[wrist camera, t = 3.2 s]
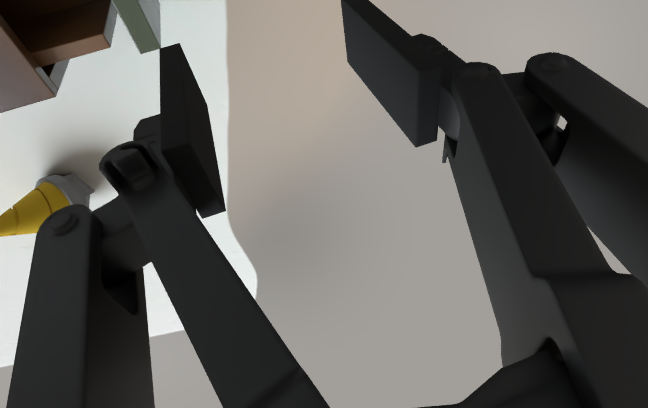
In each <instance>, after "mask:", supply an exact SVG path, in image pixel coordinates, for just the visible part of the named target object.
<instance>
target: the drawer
mask: <svg viewBox="0 0 648 408" xmlns="http://www.w3.org/2000/svg"><path fill="white" fill-rule="evenodd" d="M117 13H119V15H120V17H121V19H122V21H123V22H124V24H125V26H126V28H127V30H128V32H129V34H130V36H131V37H132V39H133V41H134V43H135V45H136V47H137V49H138V50H139V52H140V54H143V53H146V52H150V51H153V50H157V49H160V48H161V39H160V3H159V1H158V0H0V15H1V16H2V17H3V19H4V20H5V21H6V23H7V24H8V25H9V26H10V28H11V29H12V30H13V32H14V33H15V34H16V36H17V37H18V38H19V40H20V41H21V42H22V43H23V45H24V46H25V47H26V49H27V50H28V51H29V53H30V54H31V55H32V57H33V58H34V59H35V60H36V62H37V63H38V64H39V66H40V67H43V66H46V65H50V64H53V63H57V62H60V61H64V60H67V59H71V58H75V57H78V56H82V55H85V54H89V53H92V52H96V51H99V50H103V49H106V48H110V47H111V42H112V37H113V33H114V28H115V23H116V18H117Z"/></svg>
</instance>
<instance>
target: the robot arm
mask: <svg viewBox="0 0 648 408" xmlns="http://www.w3.org/2000/svg"><path fill="white" fill-rule="evenodd" d="M341 6H342V15H343V24H344V33H345V42H346V51H347V61H348V63H349V64H350V66H351V67H352V68H353V69H354V71H355V72H356V73H357V74H358V76H359V77H360V78H361V79H362V81H363V82H364V83H365V85H366V86H367V87H368V88H369V90H370V91H371V92H372V93H373V95H374V96H375V97H376V98H377V99H378V101H379V102H380V103H381V105H382V106H383V107H384V108H385V110H386V111H387V112H388V113H389V115H390V116H391V117H392V118H393V120H394V121H395V122H396V123H397V125H398V126H399V127H400V128H401V130H402V131H403V132H404V133H405V135H406V136H407V137H408V138H409V140H410V141H411V142H412V143H413V145H414V146H415V147H419V146H422V145H425V144H428V143H431V142H433V141H436V140H437V133H438V126H439V127H440V128H441V129H442V130H443V131H444V132H445V141H444V150H443V160H442V162H443V163H445V162H446V158H447V157H448V159H449V162H450V165H451V169H452V172H453V176H454V179H455V183H456V186H457V189H458V193H459V196H460V200H461V203H462V206H463V209H464V213H465V216H466V220H467V223H468V226H469V230H470V233H471V236H472V240H473V243H474V246H475V250H476V253H477V257H478V260H479V263H480V267H481V270H482V273H483V277H484V280H485V283H486V287H487V290H488V294H489V297H490V301H491V304H492V307H493V311H494V314H495V317H496V321H497V324H498V327H499V331H500V336H501V357H502V364H503V368H501V369H500V370H499V371H498V372H497V373H495V374H494V375H493V376H492V377H491V378H489V379H488V380H487V381H486V382H485V383H484V384H482V385H481V386H480V387H479V388H478V389H477V390H475V391H474V392H473V393H472V394H471V395H469V397H467V398H466V399H465V400H464V401H462V402H460V403H458V404H453V405H442V406H431V407H419V408H648V108H647V107H645V106H644V105H642V104H641V103H639V102H638V101H636V100H635V99H633V98H632V97H631V96H629V95H627V94H626V93H625V92H623V91H621V90H620V89H618V88H617V87H616V86H614V85H613V84H611V83H610V82H608V81H607V80H605V79H604V78H602V77H601V76H599V75H597V74H596V73H595V72H593V71H592V70H590V69H589V68H587V67H586V66H584V65H583V64H581V63H580V62H578V61H577V60H575V59H574V58H572V57H569V56H567V55H563V54H560V53H554V52H553V53H551V52H549V53H544V54H538V55H535V56H533V57H531V58H530V59H529V60H528V61H527V64H526V68H525V72H519V73H510V74H501V73H500V71H499V70H498V69H497V68H496V67H495V66H493V65H490V64H488V63H481V62H469V63H466V62H464V61H463V60H462V59H461V58H459V57H458V56H457V55H455V54H454V53H453V52H451V51H450V50H449V51H448V48H446V47H445V46H444V45H442V44H441V43H440V42H439V41H437V40H436V39H435V38H433V37H430V36H427V35H424V34H418V35H415V36H411V35H409V34H408V33H407V32H406V31H405V30H403V29H402V28H401V27H400V26H399V25H397V24H396V23H395V22H394V21H393V20H392V19H390V18H389V17H388V16H387V15H386V14H384V13H383V12H382V11H381V10H380V9H378V8H377V7H376V6H375V5H374V4H372V3H371V2H370V1H369V0H341ZM560 116H562V117H563V118H565V120H566V121H567V124H566V127H565V129H564V130H562V129H561V128H560V127H558V126H557V123H558V121H559V118H560ZM133 140H134V141H129V142H126V143H123V144H121V145H118V146H117V147H115V148H113V149H112V150H110V151H109V152H108V153H107V154H106V155H105V156H104V157H103V158H102V160H101V162H100V163H99V170H100V171H101V173H102V174H103V175H104V176H105V178H106V179H107V180H108V181H109V182H110V184H111V185H112V186H113V187H114V189H115V190H116V191H117V192H118V194H119V196H117V197H116V198H115V199H113V200H112V201H110V202H109V203H107V204H105V205H103V206H101V207H100V208H98V209H96V210H94V211H91V210H90V209H89V208H88V207H87V206H85V205H83V204H73V205H69V206H65V207H63V208H61V209H59V210H57V211H55V212H54V213H52V214H51V215H50V216H49V217H47V218H46V220H45V221H44V222H43V223H42V224H41V225H40V227H39V230H38V232H37V235H36V240H35V246H34V252H33V258H32V263H31V269H30V275H29V281H28V286H27V292H26V298H25V303H24V309H23V315H22V321H21V326H20V332H19V338H18V343H17V349H16V355H15V361H14V366H13V372H12V378H11V384H10V389H9V395H8V401H7V406H6V408H155V405H154V394H153V382H152V370H151V357H150V346H149V334H148V322H147V310H146V298H145V286H144V274H143V266H145V265H146V264H148V263H150V262H151V261H152V263H153V265H154V267H155V269H156V271H157V273H158V275H159V278H160V280H161V282H162V284H163V286H164V288H165V290H166V292H167V294H168V296H169V298H170V300H171V302H172V304H173V306H174V308H175V310H176V312H177V314H178V316H179V318H180V320H181V322H182V324H183V327H184V329H185V331H186V333H187V335H188V337H189V339H190V341H191V343H192V345H193V347H194V349H195V351H196V353H197V355H198V357H199V359H200V361H201V363H202V365H203V367H204V369H205V371H206V373H207V376H208V377H209V380H210V381H211V384H212V386H213V388H214V390H215V392H216V394H217V396H218V398H219V400H220V402H221V404H222V406H223V408H330V407H329V406H328V404H327V403H326V401H325V400H324V398H323V397H322V395H321V394H320V393H319V391H318V390H317V388H316V387H315V385H314V384H313V383H312V381H311V380H310V378H309V377H308V375H307V374H306V373H305V371H304V370H303V369H302V368H301V366H300V365H299V364H298V362H297V361H296V359H295V358H294V356H293V355H292V354H291V352H290V351H289V349H288V348H287V346H286V345H285V343H284V342H283V340H282V339H281V337H280V336H279V335H278V333H277V332H276V330H275V329H274V327H273V326H272V324H271V323H270V321H269V320H268V318H267V317H266V316H265V314H264V313H263V311H262V310H261V308H260V307H259V305H258V304H257V303H256V301H255V299H254V298H253V297H252V295H251V294H250V292H249V291H248V289H247V288H246V286H245V285H244V283H243V282H242V281H241V279H240V278H239V276H238V275H237V273H236V272H235V270H234V269H233V267H232V266H231V264H230V263H229V262H228V260H227V259H226V257H225V256H224V254H223V253H222V251H221V250H220V248H219V247H218V245H217V244H216V243H215V241H214V240H213V238H212V237H211V235H210V234H209V232H208V231H207V229H206V228H205V226H204V225H203V224H202V222H201V221H200V219H199V218H198V216H197V215H196V209H197V211H198V213H199V214H200V216H201V217H202V219H203V218H206V217H209V216H212V215H215V214H218V213H221V212H224V211H226V209H225V203H224V197H223V192H222V186H221V180H220V175H219V169H218V164H217V158H216V152H215V147H214V141H213V136H212V130H211V124H210V119H209V113H208V108H207V104H206V102H205V99H204V97H203V95H202V93H201V90H200V88H199V86H198V84H197V81H196V79H195V77H194V75H193V72H192V70H191V68H190V66H189V63H188V61H187V59H186V57H185V54H184V52H183V50H182V48H181V46H180V43H178V44H174V45H171V46H167V47H164V48H160V114H158V115H155V116H151V117H148V118H145V119H142V120H140V122H139V123H138V125H137V126H136V128H135V129H134V136H133ZM586 225H587V226H588V227H589V228H590V230H591V231H592V232H593V233H594V234H595V235H596V236H597V237H598V238H599V239H600V240H601V241H602V243H603V244H604V245H605V246H606V247H607V248H608V249H609V250H610V251H611V252H612V253H613V255H614V256H615V257H616V258H617V259H618V260H619V261H620V262H621V263H622V264H623V265H624V267H626V269H627V270H628V271H629V272H630V273H631V274H632V275H631V274H620V273H616V272H615V271H613V270H612V269H611V268H610V266H609V265H608V263H607V262H606V260H605V258H604V256H603V254H602V252H601V251H600V249H599V247H598V245H597V244H596V242H595V240H594V238H593V237H592V235H591V233H590V231H589V229H588V228H587V226H586Z"/></svg>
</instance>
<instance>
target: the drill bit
mask: <svg viewBox="0 0 648 408" xmlns="http://www.w3.org/2000/svg"><path fill="white" fill-rule="evenodd" d="M94 192H95V191H94V190H92V189H91V188H90V187H89V186H87V185H86V184H85V183H84V182H82V181H81V180H80V179H79V178H77V177H76V176H75V175H74V174H69V175H66V176H63V177H61V176H59V175H51V176H48V177H45V178H42V179H40V180H38V182H37V183H36V188H35V189H34V190H32V191H31V192H30V193H29V194H27V195H26V196H25V197H24V198H22V199H21V200H20V201H18V202H17V203H16V204H15V205H13V209H11V208H10V209H8V210H7V211H6V212H4V213H3V214H2V215H1V216H0V237H1V236H11V235H21V234H31V233H37V232H38V230H39V227H40V225H41V224H42V223H43V222H44V221H45V220H46V218H47V217H49V216H50V215H51V214H52V213H54V212H55V211H57V210H59V209H61V208H63V207H65V206H69V205H73V204H83V205H85V206H87V207H88V208H89V199H90V194H92V193H94Z"/></svg>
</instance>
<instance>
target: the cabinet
mask: <svg viewBox="0 0 648 408" xmlns="http://www.w3.org/2000/svg"><path fill="white" fill-rule="evenodd" d="M69 60H70V59H67V60H64V61H60V62H57V63H53V64H50V65H46V66H43V67H40V66H39V64H38V63H37V62H36V60H35V59H34V58H33V57H32V55H31V54H30V53H29V51H28V50H27V49H26V47H25V46H24V45H23V43H22V42H21V41H20V40H19V38H18V37H17V36H16V34H15V33H14V32H13V30H12V29H11V28H10V26H9V25H8V24H7V23H6V21H5V20H4V19H3V17H2V16H1V15H0V113H2V112H5V111H9V110H12V109H15V108H19V107H22V106H26V105H29V104H33V103H36V102H40V101H43V100H46V99H50V98H53V97H56V95H57V92H58V90H59V87H60V85H61V82H62V79H63V76H64V74H65V71H66V68H67V65H68V63H69Z"/></svg>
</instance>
